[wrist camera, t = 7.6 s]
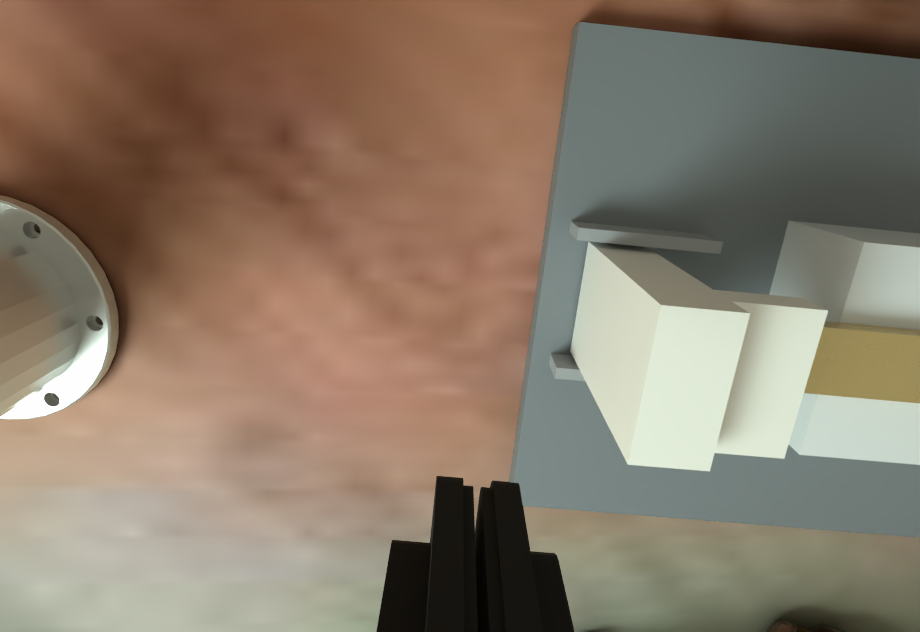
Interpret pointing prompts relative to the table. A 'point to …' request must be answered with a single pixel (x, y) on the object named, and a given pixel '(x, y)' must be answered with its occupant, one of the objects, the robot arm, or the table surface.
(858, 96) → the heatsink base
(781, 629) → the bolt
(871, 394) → the wooden building block
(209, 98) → the table surface
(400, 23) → the table surface
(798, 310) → the block
